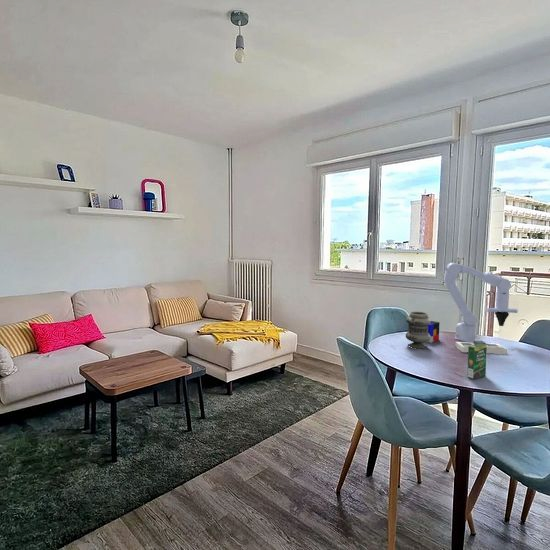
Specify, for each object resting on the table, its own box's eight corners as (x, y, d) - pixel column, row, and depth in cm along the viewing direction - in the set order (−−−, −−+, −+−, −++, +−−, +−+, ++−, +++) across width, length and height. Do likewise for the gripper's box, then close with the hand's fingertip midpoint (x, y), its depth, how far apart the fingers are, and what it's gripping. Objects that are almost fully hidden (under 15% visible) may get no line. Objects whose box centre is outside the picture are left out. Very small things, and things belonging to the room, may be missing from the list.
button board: (462, 352, 174) (462, 346, 174) (455, 346, 184) (455, 341, 184) (506, 354, 171) (507, 348, 171) (497, 348, 181) (497, 342, 181)
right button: (489, 350, 176) (489, 346, 176) (486, 348, 180) (486, 343, 180) (498, 351, 176) (498, 346, 175) (494, 349, 180) (495, 344, 179)
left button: (463, 349, 178) (464, 345, 178) (460, 347, 182) (461, 342, 182) (472, 350, 178) (472, 345, 177) (469, 348, 181) (469, 343, 181)
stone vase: (410, 350, 178) (411, 315, 176) (401, 343, 190) (402, 310, 188) (434, 350, 178) (435, 314, 176) (423, 343, 190) (424, 310, 188)
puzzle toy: (430, 343, 191) (430, 324, 191) (412, 339, 199) (413, 321, 198) (438, 339, 198) (439, 322, 197) (421, 336, 205) (422, 319, 205)
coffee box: (473, 380, 138) (474, 347, 137) (466, 377, 141) (467, 345, 140) (486, 376, 142) (487, 344, 141) (479, 374, 144) (480, 342, 143)
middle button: (476, 347, 177) (477, 342, 177) (473, 345, 181) (473, 340, 181) (485, 347, 176) (485, 343, 176) (482, 345, 180) (482, 340, 180)
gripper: (490, 301, 186) (489, 326, 187) (521, 302, 184) (519, 327, 185) (485, 299, 193) (484, 324, 194) (514, 300, 191) (512, 324, 192)
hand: (501, 325), depth 190 cm, fingers closed
